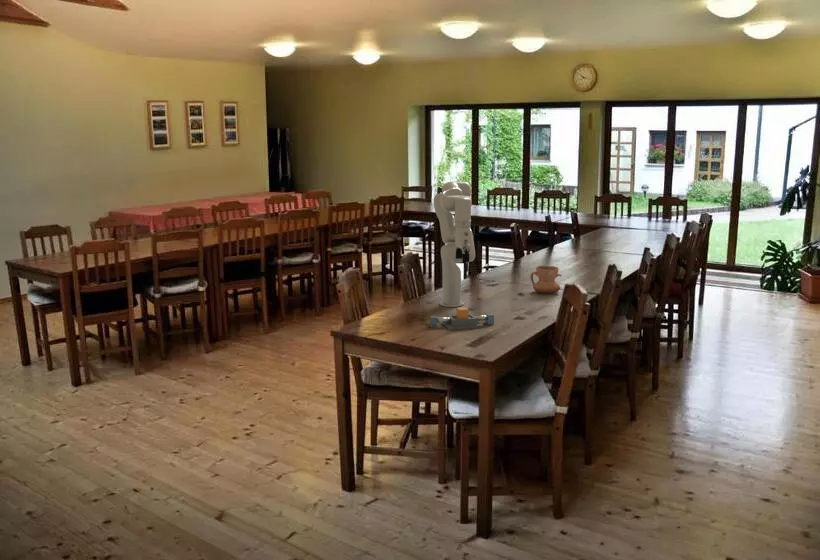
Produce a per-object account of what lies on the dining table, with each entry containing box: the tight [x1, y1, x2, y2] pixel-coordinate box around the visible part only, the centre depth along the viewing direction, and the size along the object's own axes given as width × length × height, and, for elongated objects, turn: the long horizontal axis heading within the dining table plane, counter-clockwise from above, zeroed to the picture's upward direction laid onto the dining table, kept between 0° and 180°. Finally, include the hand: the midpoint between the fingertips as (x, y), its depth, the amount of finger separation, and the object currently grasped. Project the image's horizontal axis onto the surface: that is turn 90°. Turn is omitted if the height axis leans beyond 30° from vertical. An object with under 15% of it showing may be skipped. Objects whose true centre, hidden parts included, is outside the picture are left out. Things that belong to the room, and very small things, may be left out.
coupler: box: [454, 306, 471, 319], centre depth 327 cm, size 4×8×7 cm, turn 105°
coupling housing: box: [441, 313, 484, 331], centre depth 327 cm, size 11×16×4 cm
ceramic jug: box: [529, 265, 563, 295], centre depth 391 cm, size 18×14×14 cm
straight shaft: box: [474, 312, 495, 326], centre depth 330 cm, size 9×4×4 cm, turn 105°
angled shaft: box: [429, 315, 450, 328], centre depth 327 cm, size 9×4×4 cm, turn 80°
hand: (462, 260), depth 334 cm, fingers open, 9 cm apart
